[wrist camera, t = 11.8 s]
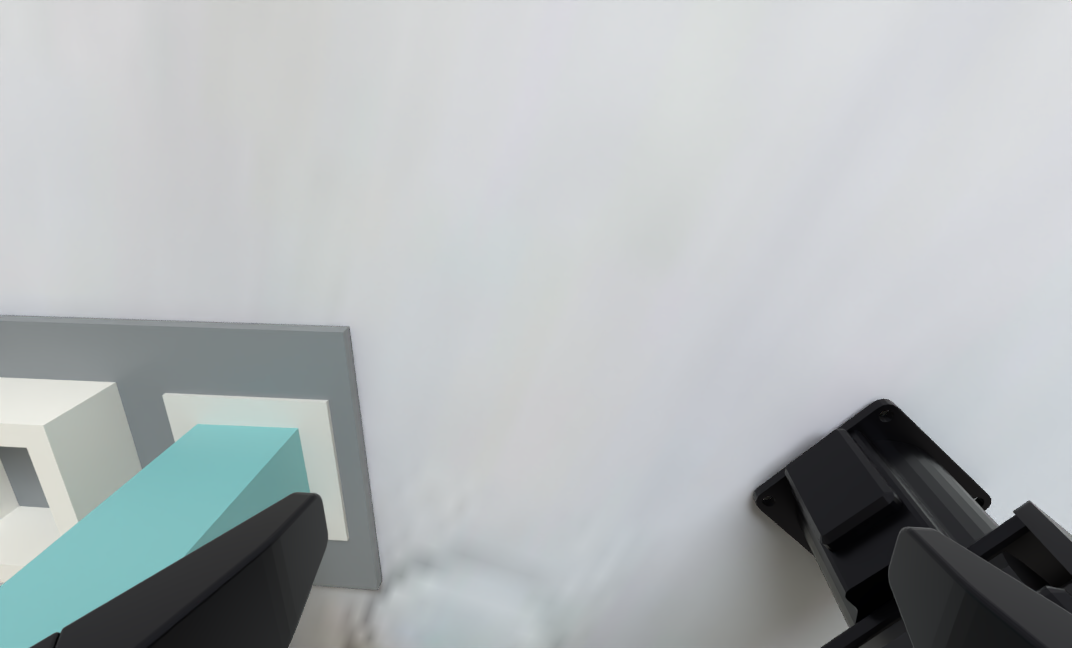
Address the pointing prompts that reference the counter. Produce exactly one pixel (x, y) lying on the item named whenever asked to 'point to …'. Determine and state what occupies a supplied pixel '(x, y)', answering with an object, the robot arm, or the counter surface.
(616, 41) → the counter surface
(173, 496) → the plug
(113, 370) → the grey board with socket
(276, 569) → the robot arm
